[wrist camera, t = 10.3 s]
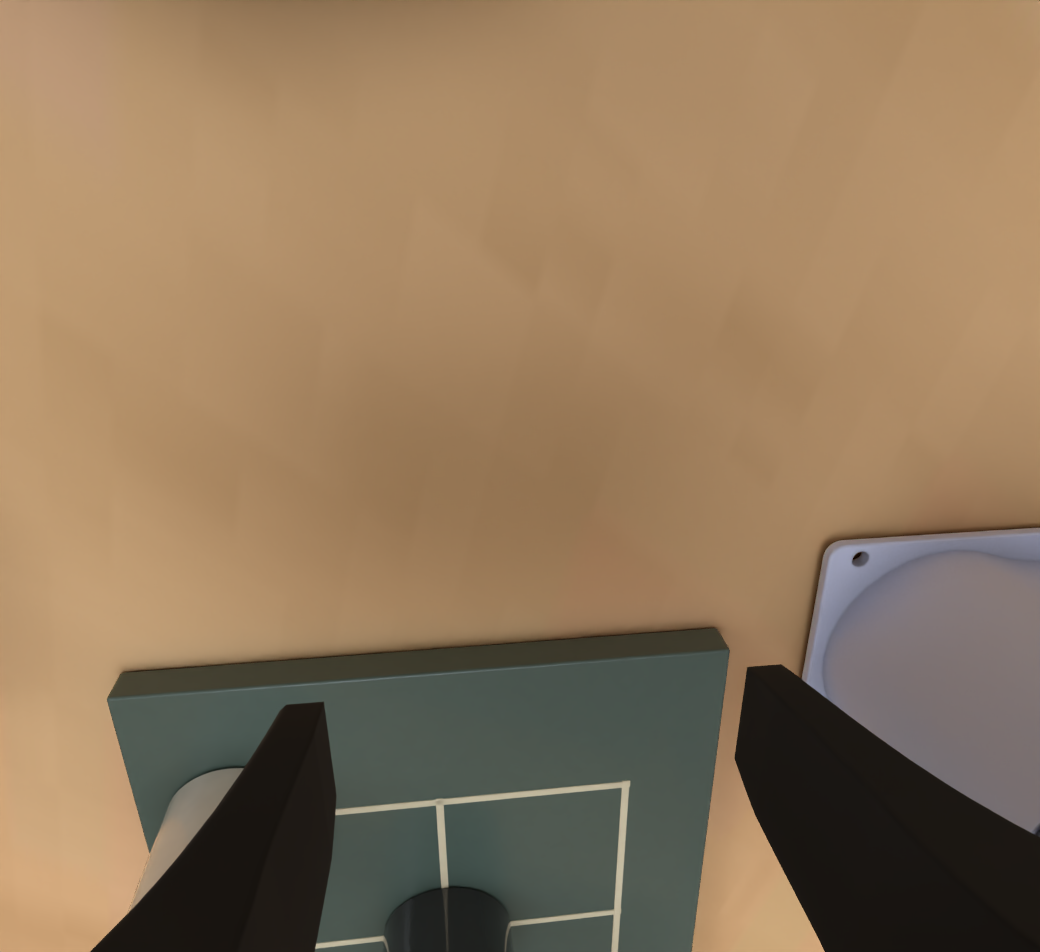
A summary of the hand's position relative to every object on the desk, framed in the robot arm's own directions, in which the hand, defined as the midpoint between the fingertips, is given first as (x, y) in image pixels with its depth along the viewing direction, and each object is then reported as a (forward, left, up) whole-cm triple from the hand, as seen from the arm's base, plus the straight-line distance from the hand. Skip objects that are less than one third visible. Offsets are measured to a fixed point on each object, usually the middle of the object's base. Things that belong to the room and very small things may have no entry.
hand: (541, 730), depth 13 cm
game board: (+2, +16, -9) cm, 19 cm away
